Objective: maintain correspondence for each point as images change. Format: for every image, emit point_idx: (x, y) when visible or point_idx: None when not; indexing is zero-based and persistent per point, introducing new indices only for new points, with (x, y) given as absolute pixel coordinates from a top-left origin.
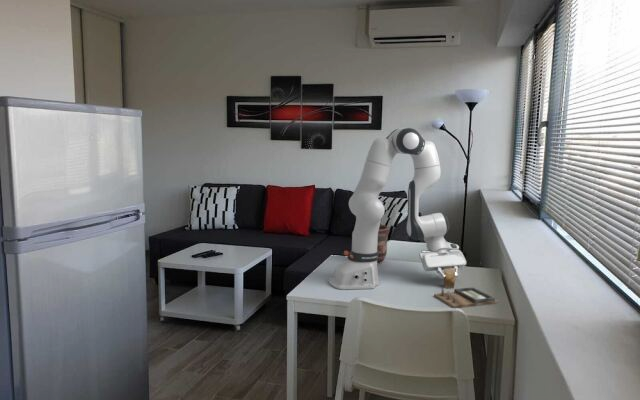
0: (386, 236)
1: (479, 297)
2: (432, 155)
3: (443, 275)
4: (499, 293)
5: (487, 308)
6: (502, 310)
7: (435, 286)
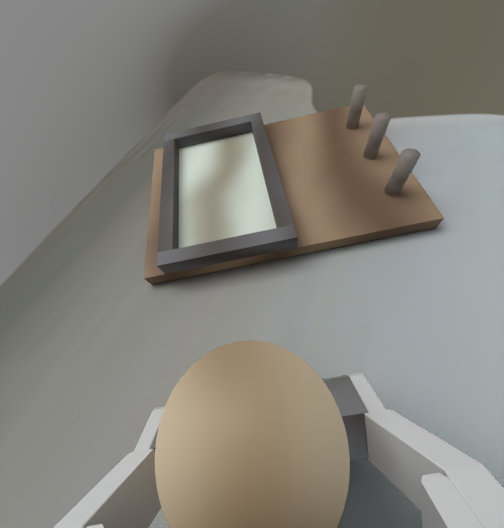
0: None
1: (207, 170)
2: None
3: (360, 385)
4: (53, 258)
5: None
6: (191, 113)
7: None
